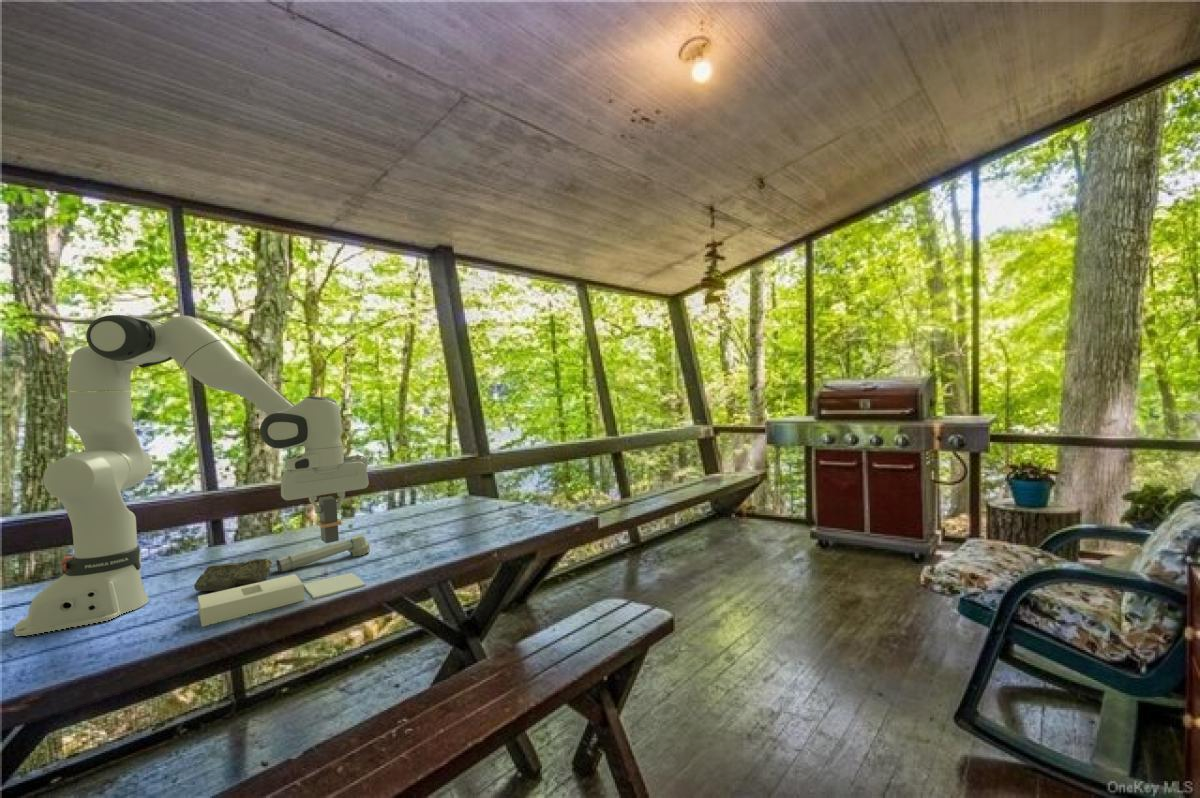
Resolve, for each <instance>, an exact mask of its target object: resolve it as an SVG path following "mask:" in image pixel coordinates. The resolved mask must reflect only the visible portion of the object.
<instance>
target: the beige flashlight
mask: <svg viewBox="0 0 1200 798" xmlns="http://www.w3.org/2000/svg"><path fill="white" fill-rule="evenodd" d="M370 546H371V542H370V541H367V539H366V536H365V535H364V534H358V535H354V536H351V538H350V539H346V540H343V541H337V542H336V543H332V544H327V545H324V546H320V547H316V548H313V549H310V550H305V551H302V552H297V553H295V554H291V553H289V554H288V556H284V557H282V558H277V559H276V560H275V563H276V568H277V571H278V573H279V572H281V573H285V572H288V571H291V570H292V571H294V570H295V569H297V568H300V567H302V566H306V565H309V564H311V563H315V562H317V561H321V560H324V559H326V558H329V557H332V556H335V555H338V554H341V553H344V552H346V551H347V552H348V553H350V557H351V556H356V557H362V556H361V555H363V556H365V555H366V554H369V553H370V552H371V550H370ZM284 571H285V572H284Z"/></svg>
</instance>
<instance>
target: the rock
mask: <svg viewBox="0 0 1200 798" xmlns="http://www.w3.org/2000/svg"><path fill="white" fill-rule="evenodd" d="M272 564H273V562H272V561H271V560H270V559H267V558H257V559H251V560H248V561H239V562H238V561H236V562H228V563H223V564H218V565H209V566H208V567H206V569H205V570H204V573H203V574H200V576H199V577H198V579H196V582H195V583H194V586H193V588H194V590H195V591H196V592H198V591H199V592H212V591H214V592H219V591H223V590H227V589H232V588H236V587H237V586H245V585H249V584H254V583H258V582H262V581H265V580H266V579H267V578H268V577H269V575H270V573H271V570H270V569H271V567H272ZM236 585H237V586H236Z"/></svg>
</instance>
